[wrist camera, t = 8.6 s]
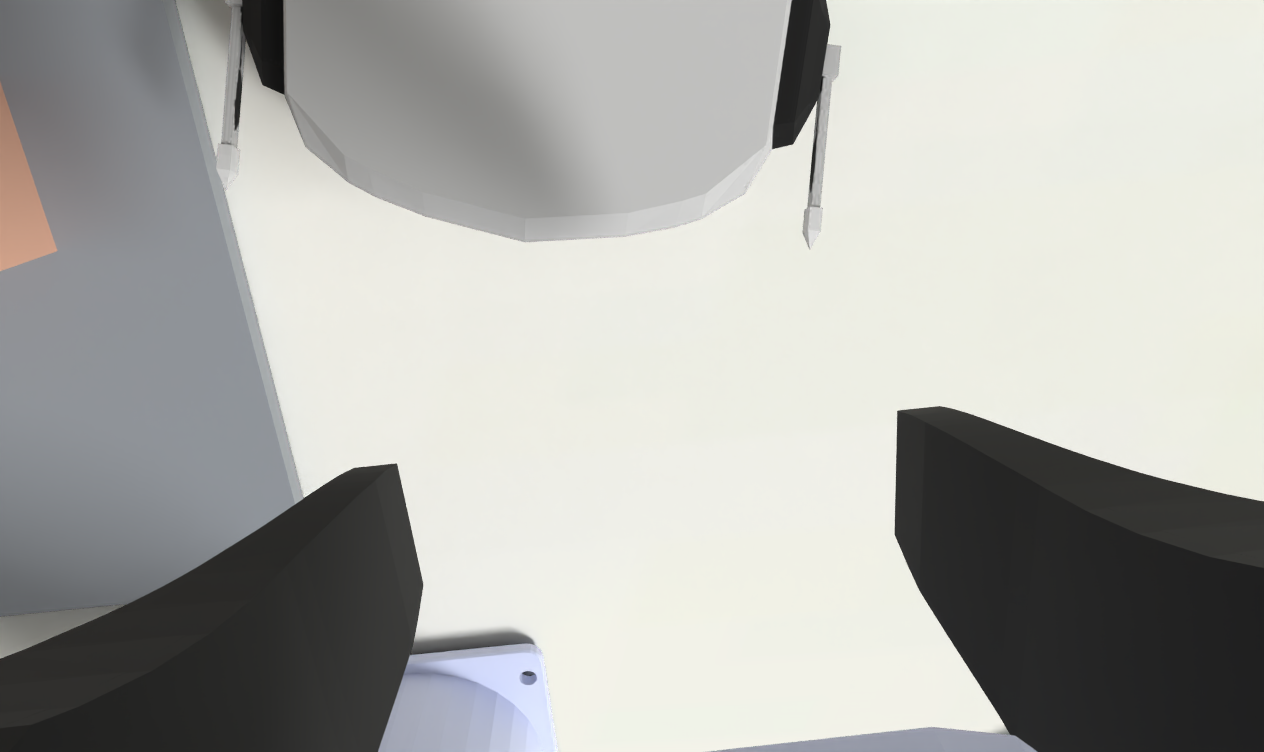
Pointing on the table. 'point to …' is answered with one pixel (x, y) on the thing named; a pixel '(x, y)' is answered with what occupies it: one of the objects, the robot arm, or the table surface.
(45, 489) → the baseplate
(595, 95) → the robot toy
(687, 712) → the table surface
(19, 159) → the base brick
